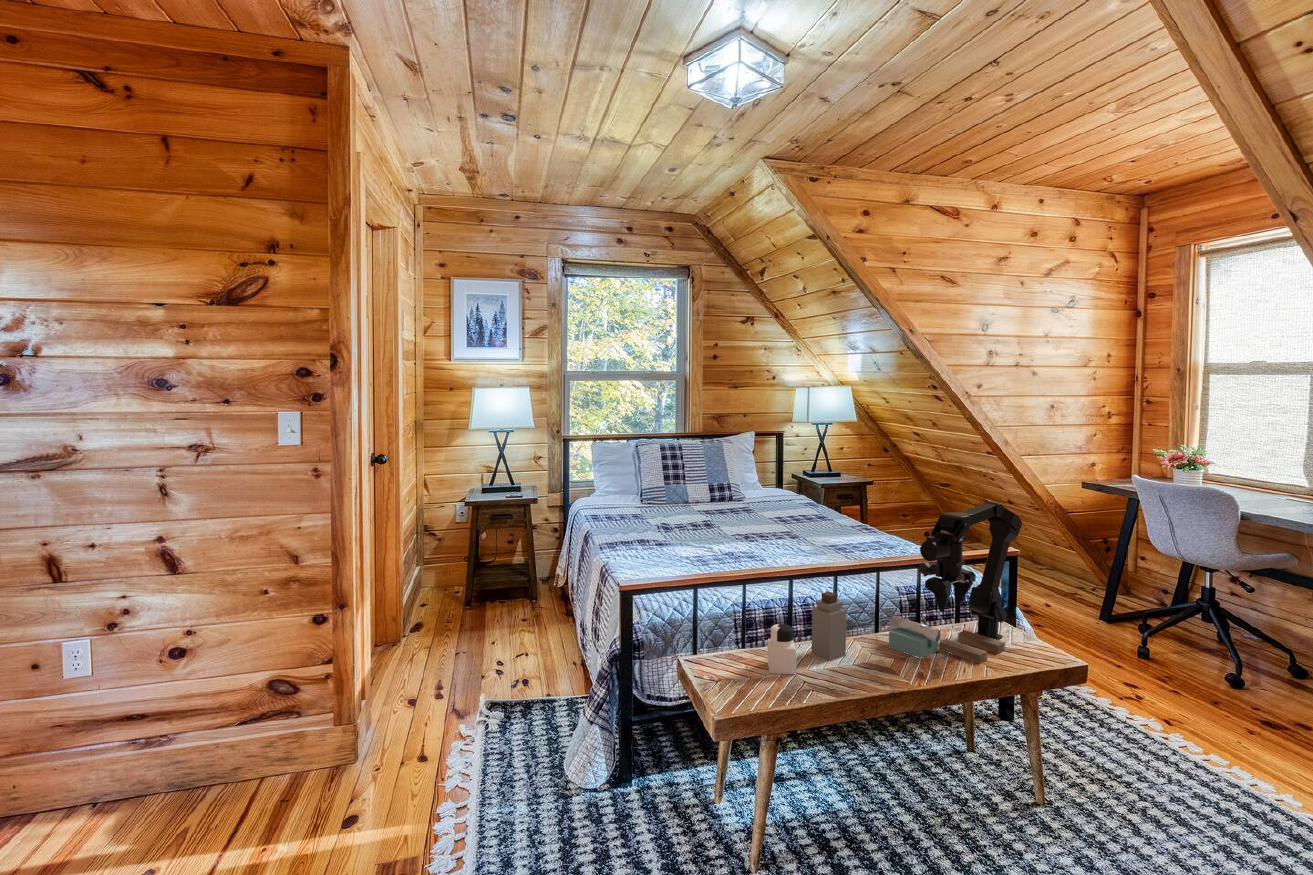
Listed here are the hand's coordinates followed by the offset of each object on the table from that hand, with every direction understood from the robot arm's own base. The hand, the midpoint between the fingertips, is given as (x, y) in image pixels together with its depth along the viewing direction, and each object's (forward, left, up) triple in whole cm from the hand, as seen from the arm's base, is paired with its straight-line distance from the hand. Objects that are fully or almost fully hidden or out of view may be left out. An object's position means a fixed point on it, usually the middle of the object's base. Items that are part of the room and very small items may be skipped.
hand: (949, 608), depth 187 cm
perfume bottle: (+32, -19, -12) cm, 39 cm away
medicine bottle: (+50, -21, -12) cm, 56 cm away
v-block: (+9, -6, -12) cm, 16 cm away
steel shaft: (+9, -6, -8) cm, 13 cm away
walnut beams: (-4, +5, -12) cm, 14 cm away
